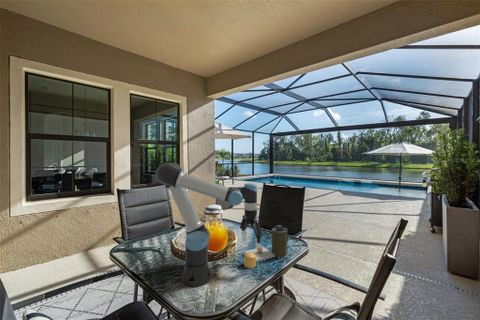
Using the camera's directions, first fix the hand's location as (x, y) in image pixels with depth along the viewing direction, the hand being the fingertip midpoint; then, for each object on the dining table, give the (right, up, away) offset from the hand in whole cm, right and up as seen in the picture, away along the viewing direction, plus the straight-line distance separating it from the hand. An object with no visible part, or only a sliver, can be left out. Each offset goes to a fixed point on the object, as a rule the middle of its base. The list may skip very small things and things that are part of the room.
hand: (250, 244), depth 133 cm
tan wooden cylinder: (-1, -13, 0) cm, 13 cm away
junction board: (+6, -13, +13) cm, 19 cm away
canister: (+20, -13, +15) cm, 28 cm away
